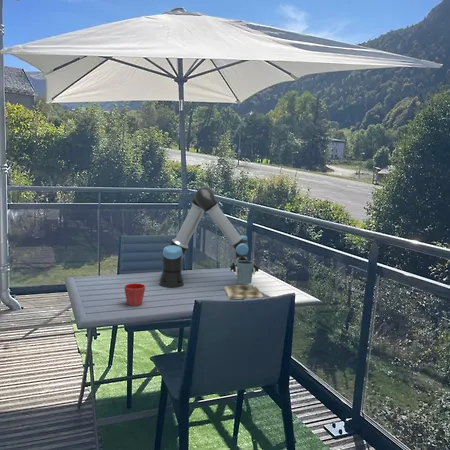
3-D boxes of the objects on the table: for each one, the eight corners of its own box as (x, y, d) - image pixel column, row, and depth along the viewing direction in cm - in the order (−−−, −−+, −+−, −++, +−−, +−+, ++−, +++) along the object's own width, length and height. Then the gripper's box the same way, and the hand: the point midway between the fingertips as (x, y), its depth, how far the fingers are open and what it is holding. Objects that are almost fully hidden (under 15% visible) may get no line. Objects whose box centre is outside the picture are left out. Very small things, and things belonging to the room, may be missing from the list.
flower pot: (121, 301, 242) (122, 284, 240) (141, 299, 247) (141, 282, 246) (127, 307, 233) (127, 289, 231) (147, 305, 238) (147, 287, 236)
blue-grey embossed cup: (234, 283, 260) (235, 263, 259) (236, 278, 270) (237, 259, 268) (252, 284, 259) (253, 264, 257) (253, 280, 269) (254, 260, 267)
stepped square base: (228, 299, 254) (229, 292, 254) (224, 289, 274) (224, 283, 274) (263, 300, 257) (263, 293, 257) (256, 290, 277) (256, 283, 276)
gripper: (259, 269, 282) (264, 279, 260) (224, 268, 281) (226, 277, 259) (260, 257, 281) (264, 266, 259) (225, 256, 280) (226, 265, 258)
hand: (245, 272), depth 259 cm, fingers closed on blue-grey embossed cup, 9 cm apart
